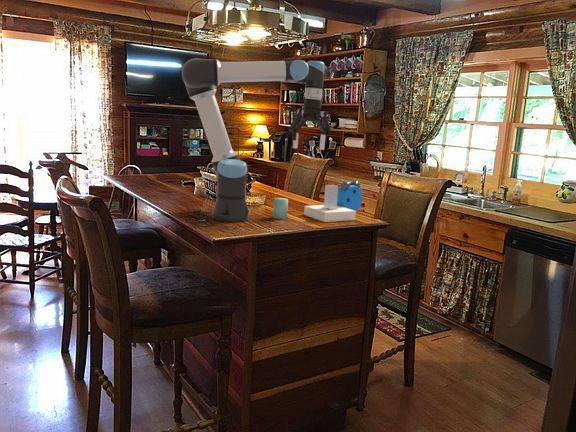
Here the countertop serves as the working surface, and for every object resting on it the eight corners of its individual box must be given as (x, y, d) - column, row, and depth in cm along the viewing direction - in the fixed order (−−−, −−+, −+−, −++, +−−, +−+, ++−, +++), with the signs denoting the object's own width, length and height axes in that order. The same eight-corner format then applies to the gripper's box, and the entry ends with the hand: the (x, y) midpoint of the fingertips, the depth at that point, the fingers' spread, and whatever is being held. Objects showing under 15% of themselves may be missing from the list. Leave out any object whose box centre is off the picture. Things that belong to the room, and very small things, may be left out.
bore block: (324, 222, 205) (325, 212, 205) (304, 214, 219) (304, 205, 218) (355, 220, 213) (356, 210, 213) (333, 213, 227) (334, 204, 226)
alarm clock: (352, 211, 235) (354, 179, 232) (362, 213, 230) (365, 181, 228) (333, 213, 226) (335, 180, 224) (343, 215, 222) (345, 182, 219)
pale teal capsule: (277, 219, 205) (278, 200, 204) (270, 216, 210) (271, 198, 209) (289, 218, 208) (290, 200, 207) (282, 216, 213) (283, 197, 212)
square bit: (328, 218, 213) (330, 186, 211) (323, 216, 217) (325, 185, 214) (335, 218, 215) (338, 186, 213) (330, 216, 219) (332, 184, 216)
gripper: (291, 96, 202) (287, 148, 206) (342, 101, 214) (337, 150, 218) (283, 96, 208) (279, 146, 212) (332, 101, 220) (327, 149, 224)
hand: (308, 149), depth 215 cm, fingers open, 13 cm apart
